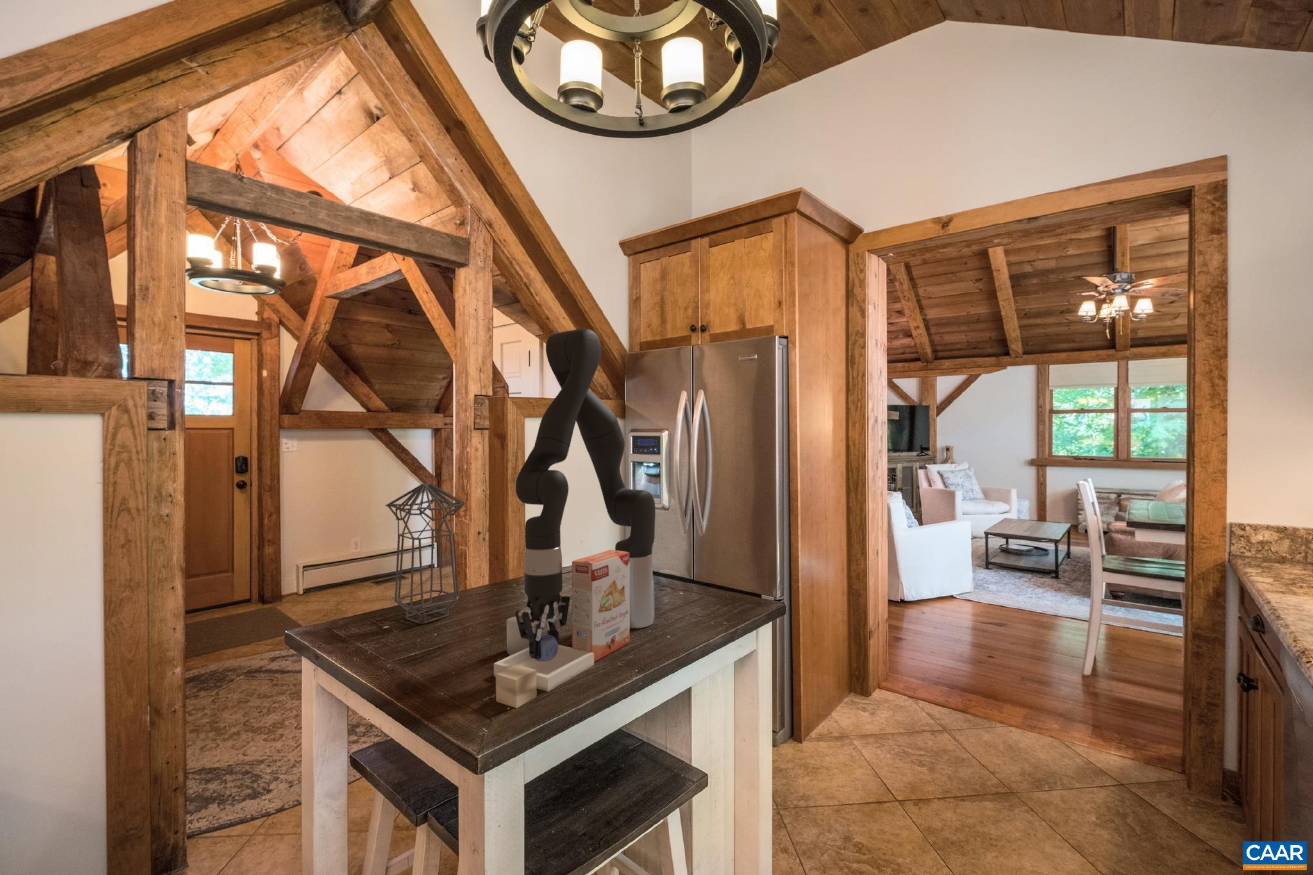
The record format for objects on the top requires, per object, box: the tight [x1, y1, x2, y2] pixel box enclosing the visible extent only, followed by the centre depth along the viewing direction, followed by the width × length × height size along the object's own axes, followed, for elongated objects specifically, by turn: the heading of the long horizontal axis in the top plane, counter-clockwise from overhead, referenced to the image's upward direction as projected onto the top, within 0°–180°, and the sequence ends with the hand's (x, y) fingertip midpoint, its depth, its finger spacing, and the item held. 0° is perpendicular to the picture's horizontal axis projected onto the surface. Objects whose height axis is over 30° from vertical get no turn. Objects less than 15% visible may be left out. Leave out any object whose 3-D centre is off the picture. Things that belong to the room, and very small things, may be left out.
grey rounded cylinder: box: [506, 615, 529, 656], centre depth 128 cm, size 5×5×7 cm
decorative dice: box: [535, 634, 558, 662], centre depth 118 cm, size 4×4×4 cm
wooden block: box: [495, 664, 537, 709], centre depth 105 cm, size 5×5×5 cm
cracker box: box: [571, 549, 631, 663], centre depth 127 cm, size 14×6×21 cm, turn 148°
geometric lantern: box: [385, 482, 467, 625], centre depth 153 cm, size 16×16×35 cm
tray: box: [493, 644, 595, 692], centre depth 118 cm, size 14×14×2 cm
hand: (544, 653), depth 118 cm, fingers closed on decorative dice, 4 cm apart
